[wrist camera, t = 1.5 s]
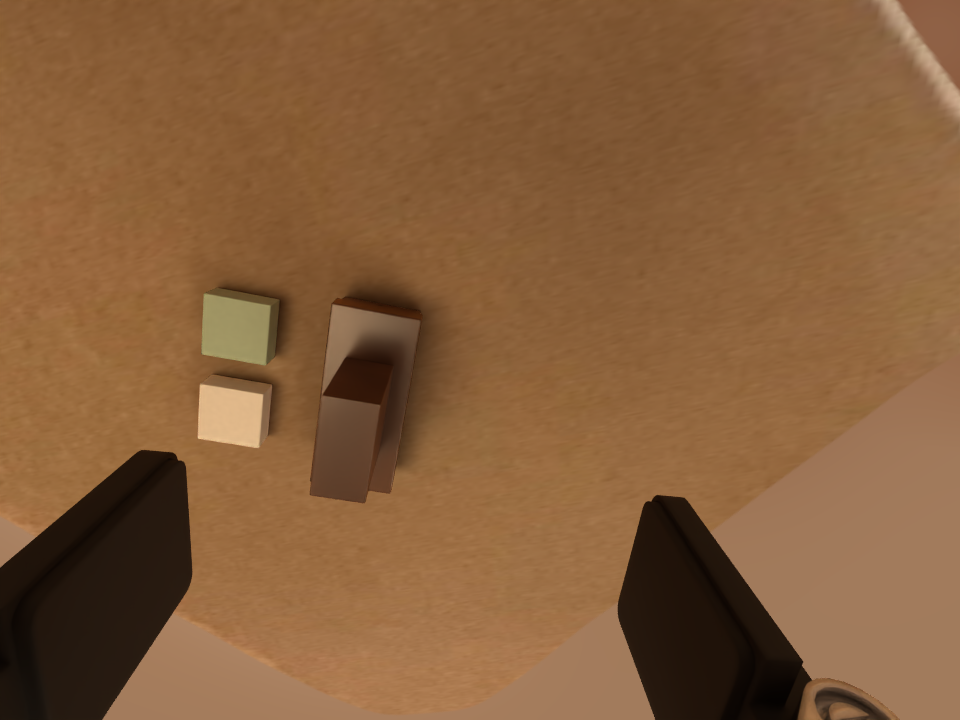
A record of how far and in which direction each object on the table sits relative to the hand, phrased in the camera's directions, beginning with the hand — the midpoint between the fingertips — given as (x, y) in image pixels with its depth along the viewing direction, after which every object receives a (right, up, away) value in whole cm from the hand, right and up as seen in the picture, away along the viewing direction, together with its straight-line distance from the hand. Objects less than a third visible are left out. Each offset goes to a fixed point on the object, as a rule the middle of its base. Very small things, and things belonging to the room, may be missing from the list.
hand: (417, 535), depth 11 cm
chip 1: (-14, +6, +23) cm, 28 cm away
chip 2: (-15, 0, +25) cm, 29 cm away
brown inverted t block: (-6, +2, +25) cm, 26 cm away
